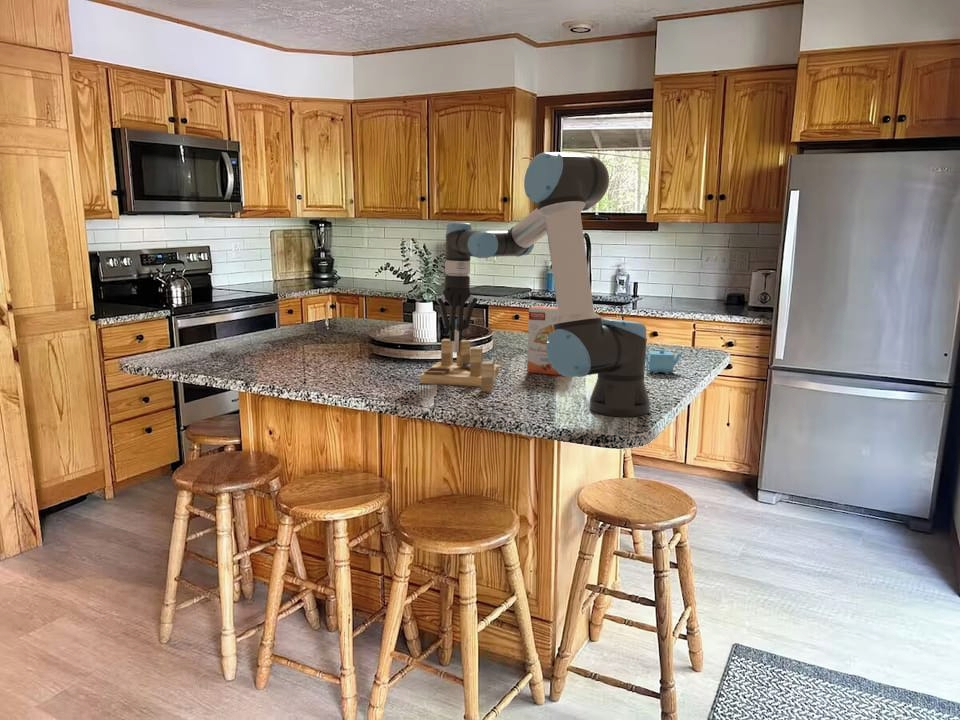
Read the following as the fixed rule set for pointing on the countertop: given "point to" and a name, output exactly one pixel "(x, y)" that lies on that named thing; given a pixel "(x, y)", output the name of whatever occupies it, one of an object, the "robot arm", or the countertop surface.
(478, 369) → the seat
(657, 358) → the teapot
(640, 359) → the robot arm
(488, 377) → the loose leg
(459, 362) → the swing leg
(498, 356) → the countertop surface
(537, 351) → the cracker box
